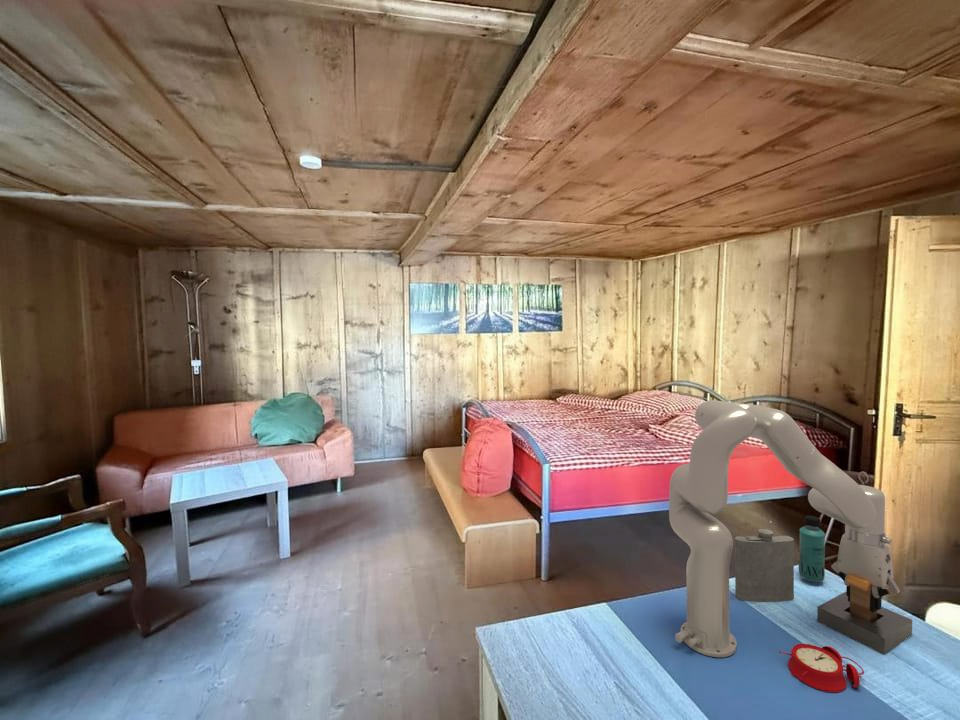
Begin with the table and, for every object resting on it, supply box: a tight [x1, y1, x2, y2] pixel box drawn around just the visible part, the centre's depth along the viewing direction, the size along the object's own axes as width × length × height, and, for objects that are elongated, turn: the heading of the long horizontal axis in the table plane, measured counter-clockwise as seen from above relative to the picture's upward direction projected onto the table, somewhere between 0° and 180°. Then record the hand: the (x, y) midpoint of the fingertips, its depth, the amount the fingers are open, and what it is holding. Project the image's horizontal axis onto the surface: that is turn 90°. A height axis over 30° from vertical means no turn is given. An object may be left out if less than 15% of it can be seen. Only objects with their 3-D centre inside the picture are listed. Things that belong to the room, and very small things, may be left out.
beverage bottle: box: [798, 515, 826, 583], centre depth 134 cm, size 6×7×20 cm
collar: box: [816, 591, 913, 656], centre depth 113 cm, size 14×14×4 cm
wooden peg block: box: [847, 574, 877, 623], centre depth 113 cm, size 7×4×12 cm, turn 116°
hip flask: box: [734, 528, 795, 603], centre depth 127 cm, size 16×4×20 cm, turn 87°
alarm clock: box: [778, 643, 865, 693], centre depth 99 cm, size 10×6×15 cm
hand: (863, 604), depth 113 cm, fingers closed on wooden peg block, 4 cm apart
